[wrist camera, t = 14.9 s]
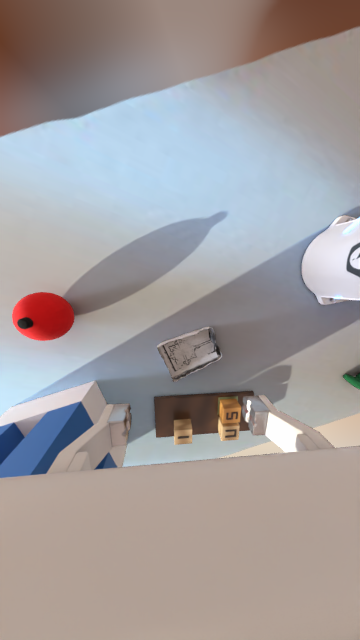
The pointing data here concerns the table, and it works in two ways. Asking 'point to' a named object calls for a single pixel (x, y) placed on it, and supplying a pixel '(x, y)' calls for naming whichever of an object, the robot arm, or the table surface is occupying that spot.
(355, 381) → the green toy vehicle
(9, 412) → the toy block
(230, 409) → the letter s tile
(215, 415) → the letter board
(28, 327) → the ornament
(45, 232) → the table surface
